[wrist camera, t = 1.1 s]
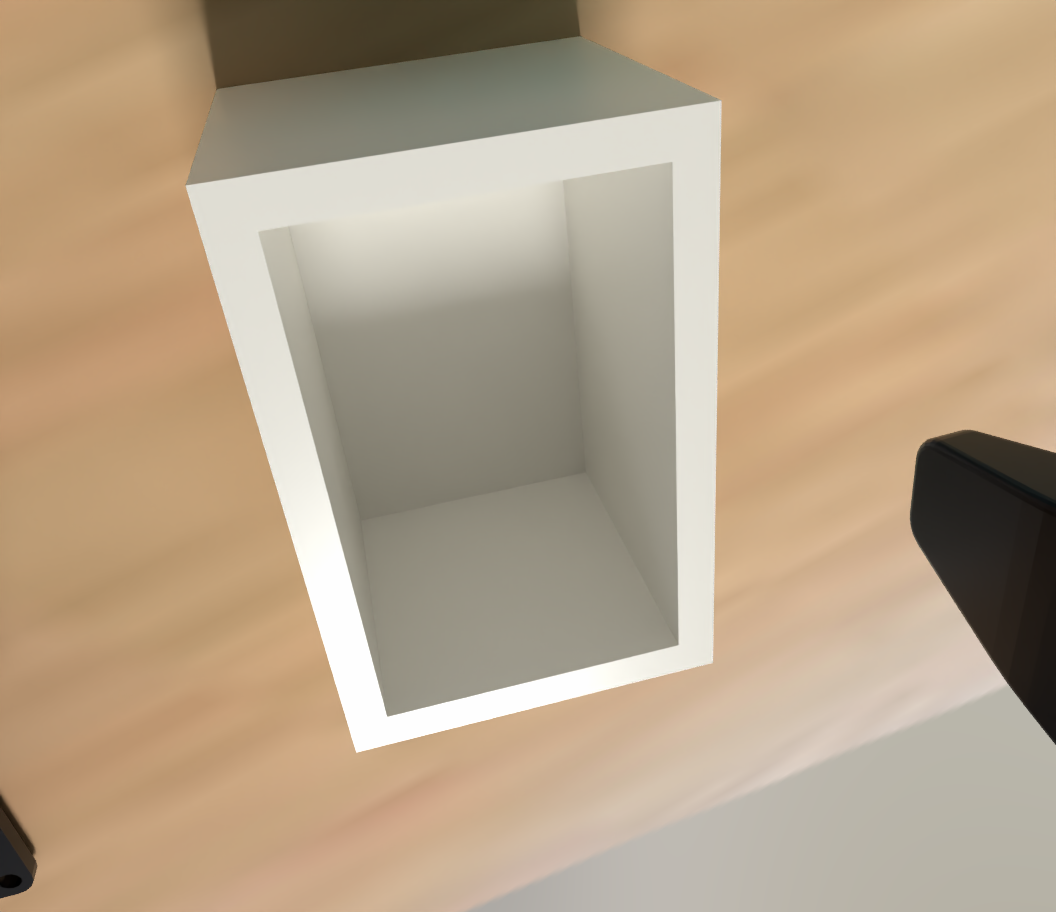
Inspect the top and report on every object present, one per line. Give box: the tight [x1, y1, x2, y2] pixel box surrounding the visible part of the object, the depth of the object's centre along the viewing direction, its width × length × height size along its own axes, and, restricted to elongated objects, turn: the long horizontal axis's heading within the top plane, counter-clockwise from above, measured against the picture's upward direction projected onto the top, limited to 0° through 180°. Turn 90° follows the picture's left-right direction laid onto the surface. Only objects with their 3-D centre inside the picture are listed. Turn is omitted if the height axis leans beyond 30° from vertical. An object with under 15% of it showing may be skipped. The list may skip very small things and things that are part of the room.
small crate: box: [186, 36, 721, 752], centre depth 15 cm, size 9×6×6 cm, turn 5°
